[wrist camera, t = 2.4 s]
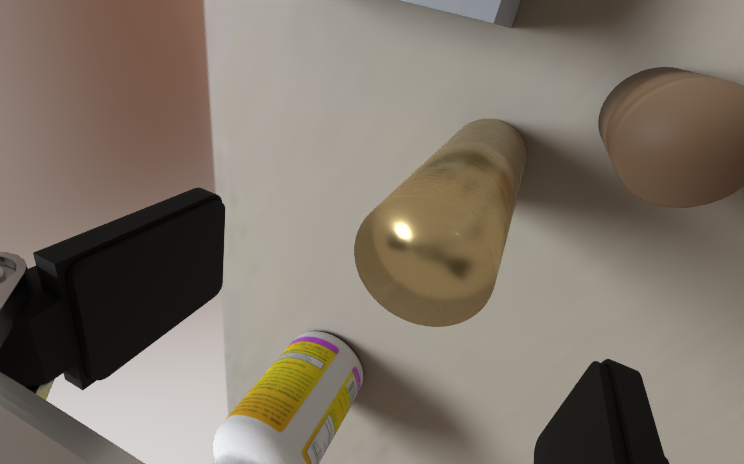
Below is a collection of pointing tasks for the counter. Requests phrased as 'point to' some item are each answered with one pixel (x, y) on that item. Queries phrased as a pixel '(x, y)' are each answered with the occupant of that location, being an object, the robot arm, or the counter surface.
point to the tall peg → (445, 228)
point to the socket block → (477, 9)
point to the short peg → (676, 136)
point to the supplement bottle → (293, 405)
